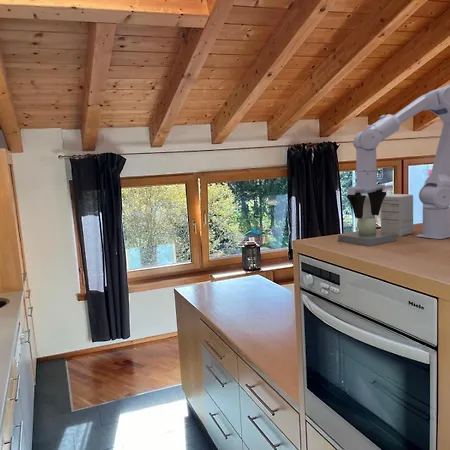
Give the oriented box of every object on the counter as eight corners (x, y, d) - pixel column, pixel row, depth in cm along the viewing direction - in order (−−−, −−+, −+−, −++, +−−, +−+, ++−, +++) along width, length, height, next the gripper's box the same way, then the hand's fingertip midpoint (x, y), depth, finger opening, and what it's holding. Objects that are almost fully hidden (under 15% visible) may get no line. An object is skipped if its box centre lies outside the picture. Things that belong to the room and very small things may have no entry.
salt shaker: (353, 231, 149) (352, 194, 147) (366, 229, 151) (365, 192, 149) (365, 233, 144) (364, 194, 142) (378, 231, 146) (378, 193, 144)
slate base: (364, 236, 140) (364, 229, 139) (396, 240, 130) (396, 233, 129) (338, 241, 133) (338, 234, 133) (370, 246, 123) (370, 239, 123)
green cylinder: (365, 232, 134) (365, 216, 134) (379, 234, 130) (379, 217, 130) (355, 234, 132) (355, 218, 131) (368, 236, 128) (368, 219, 127)
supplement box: (393, 231, 146) (393, 193, 144) (414, 233, 140) (414, 194, 138) (380, 234, 142) (379, 195, 140) (400, 236, 136) (400, 196, 134)
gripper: (371, 170, 136) (371, 213, 137) (339, 173, 128) (340, 218, 130) (390, 169, 130) (390, 214, 132) (358, 172, 122) (359, 220, 124)
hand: (367, 216), depth 130 cm, fingers open, 7 cm apart
